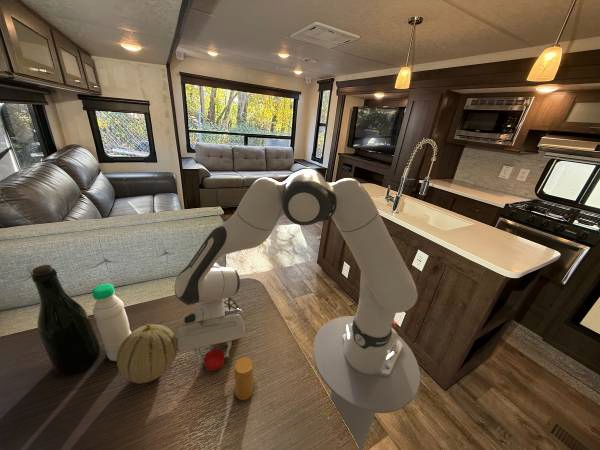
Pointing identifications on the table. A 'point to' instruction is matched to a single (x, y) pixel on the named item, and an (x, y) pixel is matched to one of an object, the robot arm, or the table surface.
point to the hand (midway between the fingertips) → (214, 360)
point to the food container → (230, 305)
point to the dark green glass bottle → (63, 325)
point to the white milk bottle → (110, 319)
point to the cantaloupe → (147, 353)
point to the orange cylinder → (243, 378)
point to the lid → (214, 359)
